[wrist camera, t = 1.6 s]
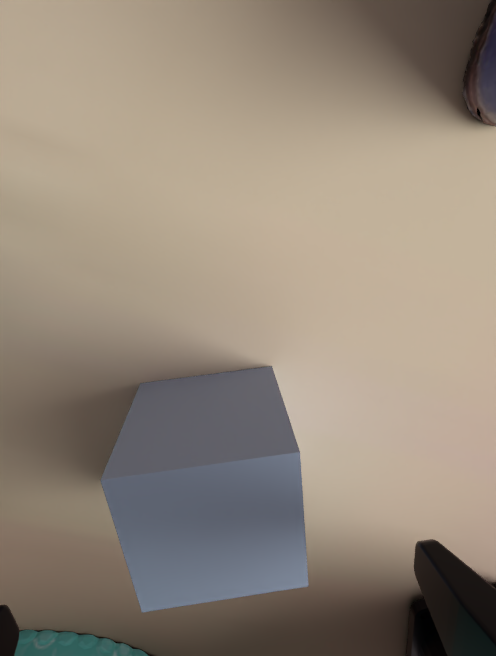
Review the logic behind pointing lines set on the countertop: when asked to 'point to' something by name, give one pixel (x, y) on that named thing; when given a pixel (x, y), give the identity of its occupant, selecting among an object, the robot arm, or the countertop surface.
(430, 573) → the robot arm
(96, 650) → the basket
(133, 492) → the cube
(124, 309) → the countertop surface
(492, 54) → the flask
